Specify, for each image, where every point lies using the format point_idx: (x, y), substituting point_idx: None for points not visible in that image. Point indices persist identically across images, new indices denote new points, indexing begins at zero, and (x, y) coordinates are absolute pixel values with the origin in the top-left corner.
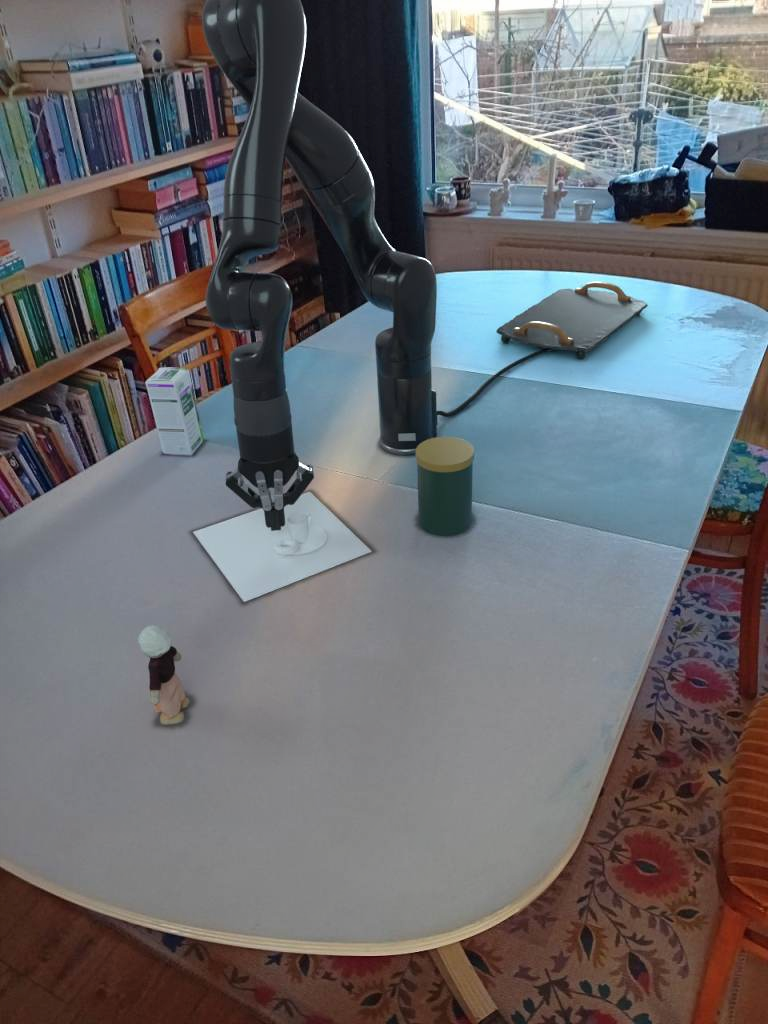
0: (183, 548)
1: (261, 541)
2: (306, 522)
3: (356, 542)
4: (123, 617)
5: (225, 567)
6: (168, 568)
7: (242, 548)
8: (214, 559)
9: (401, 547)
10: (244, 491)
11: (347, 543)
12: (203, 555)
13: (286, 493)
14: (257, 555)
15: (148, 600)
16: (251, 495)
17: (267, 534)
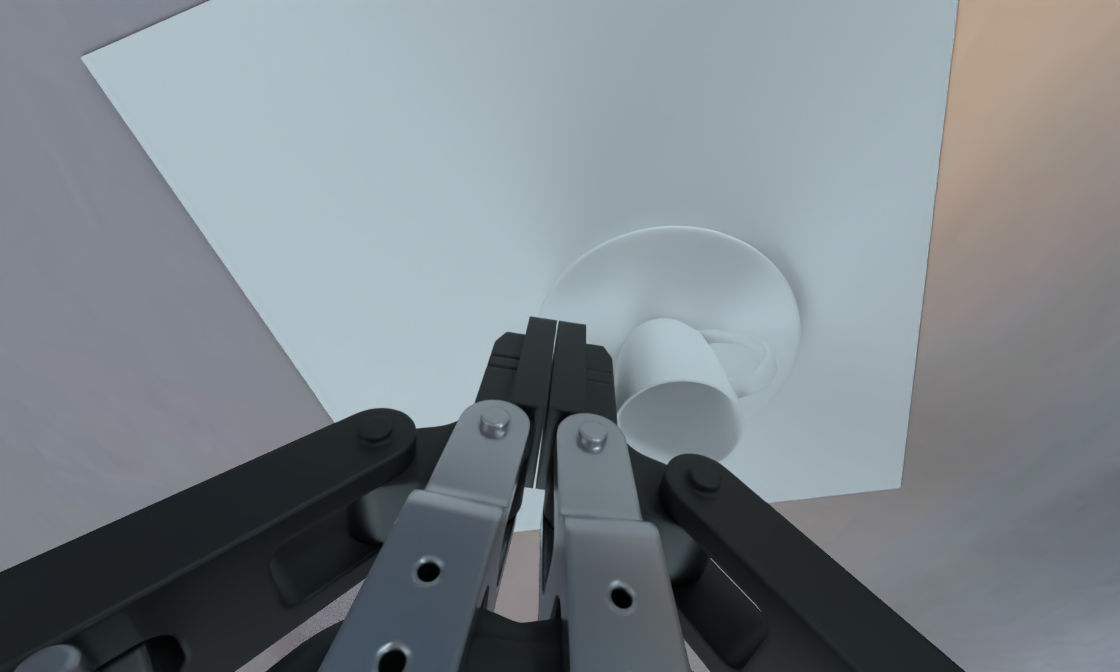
0: (102, 205)
1: (482, 284)
2: (714, 456)
3: (883, 426)
4: (80, 489)
5: (337, 397)
6: (103, 326)
7: (393, 307)
8: (281, 337)
9: (1019, 500)
10: (244, 661)
11: (845, 419)
12: (223, 291)
13: (657, 528)
14: (460, 371)
15: (118, 454)
16: (335, 582)
17: (515, 235)
